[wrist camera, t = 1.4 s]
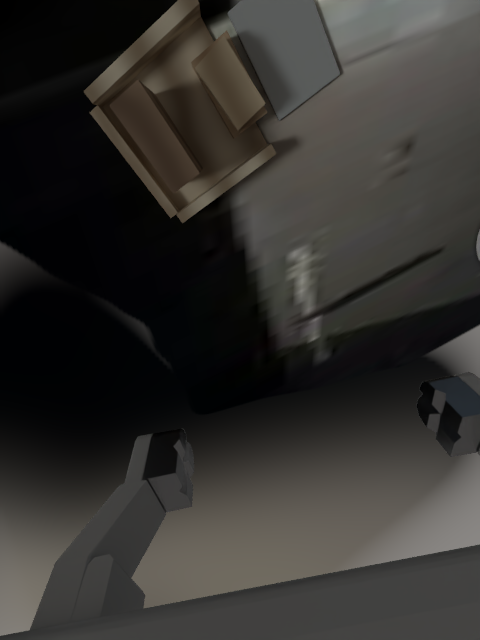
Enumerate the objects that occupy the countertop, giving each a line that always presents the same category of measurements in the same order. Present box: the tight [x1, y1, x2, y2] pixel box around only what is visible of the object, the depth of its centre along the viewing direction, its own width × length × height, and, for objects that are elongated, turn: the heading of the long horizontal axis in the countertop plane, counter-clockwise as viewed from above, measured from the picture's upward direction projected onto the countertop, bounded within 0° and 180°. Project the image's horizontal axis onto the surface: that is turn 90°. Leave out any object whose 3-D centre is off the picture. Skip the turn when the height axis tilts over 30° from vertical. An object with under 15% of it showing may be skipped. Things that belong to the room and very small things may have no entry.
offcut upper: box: [195, 36, 266, 131], centre depth 31 cm, size 4×7×2 cm, turn 39°
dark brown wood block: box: [109, 79, 203, 194], centre depth 32 cm, size 4×9×8 cm, turn 33°
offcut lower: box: [191, 31, 267, 139], centre depth 33 cm, size 4×8×2 cm, turn 33°
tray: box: [84, 0, 276, 223], centre depth 34 cm, size 15×16×4 cm
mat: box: [228, 0, 340, 120], centre depth 32 cm, size 8×11×1 cm
